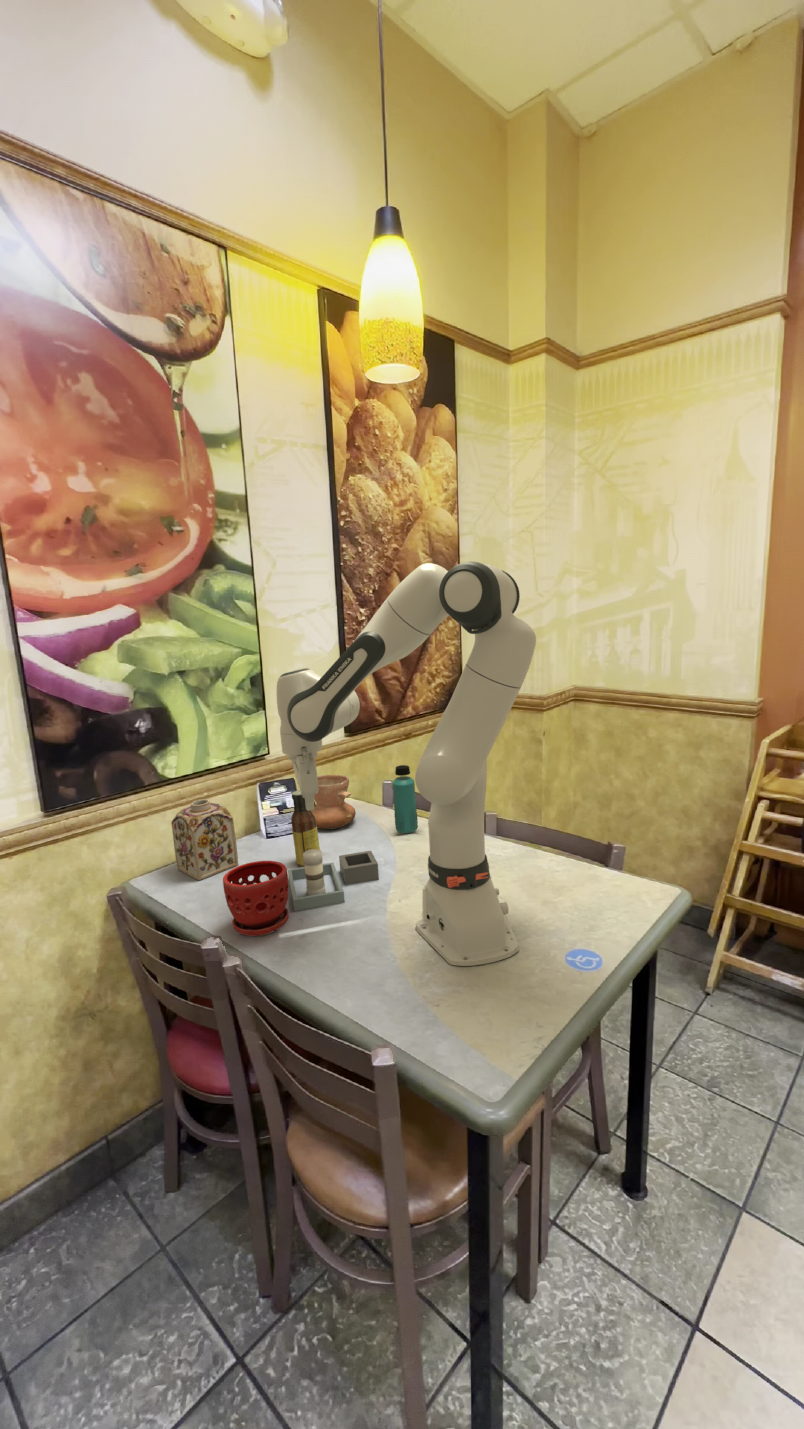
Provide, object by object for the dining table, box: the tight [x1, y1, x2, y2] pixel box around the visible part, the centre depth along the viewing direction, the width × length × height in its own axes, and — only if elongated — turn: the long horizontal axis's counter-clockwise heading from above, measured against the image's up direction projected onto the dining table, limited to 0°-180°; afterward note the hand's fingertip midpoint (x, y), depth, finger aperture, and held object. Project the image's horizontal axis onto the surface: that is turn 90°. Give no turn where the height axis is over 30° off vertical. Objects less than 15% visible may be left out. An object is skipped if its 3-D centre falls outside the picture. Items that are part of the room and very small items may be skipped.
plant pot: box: [222, 860, 290, 937], centre depth 127 cm, size 13×13×12 cm
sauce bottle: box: [290, 789, 321, 868], centre depth 154 cm, size 6×6×20 cm
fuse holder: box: [338, 850, 380, 886], centre depth 146 cm, size 8×8×5 cm
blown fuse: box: [303, 849, 327, 896], centre depth 138 cm, size 4×4×10 cm
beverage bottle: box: [392, 764, 419, 834], centre depth 171 cm, size 6×7×20 cm
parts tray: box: [287, 862, 346, 912], centre depth 140 cm, size 16×11×4 cm
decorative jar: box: [170, 798, 239, 881], centre depth 157 cm, size 12×12×18 cm
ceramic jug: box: [311, 774, 357, 830], centre depth 183 cm, size 18×14×14 cm
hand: (307, 802), depth 136 cm, fingers open, 8 cm apart
